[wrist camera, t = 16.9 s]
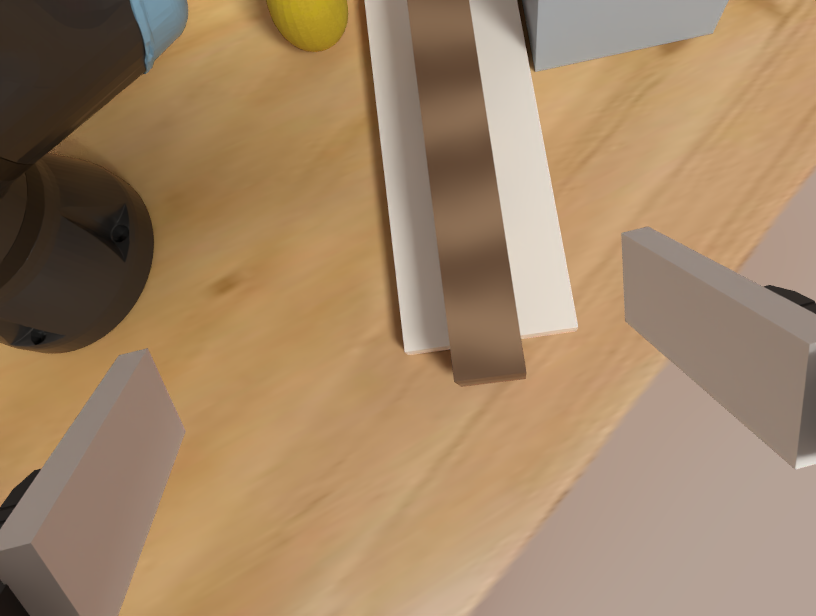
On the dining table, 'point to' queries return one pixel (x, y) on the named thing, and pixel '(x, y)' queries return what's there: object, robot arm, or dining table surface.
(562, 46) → the slate-blue shelf box
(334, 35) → the lemon
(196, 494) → the dining table surface
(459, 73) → the walnut block
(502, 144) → the cream platter
